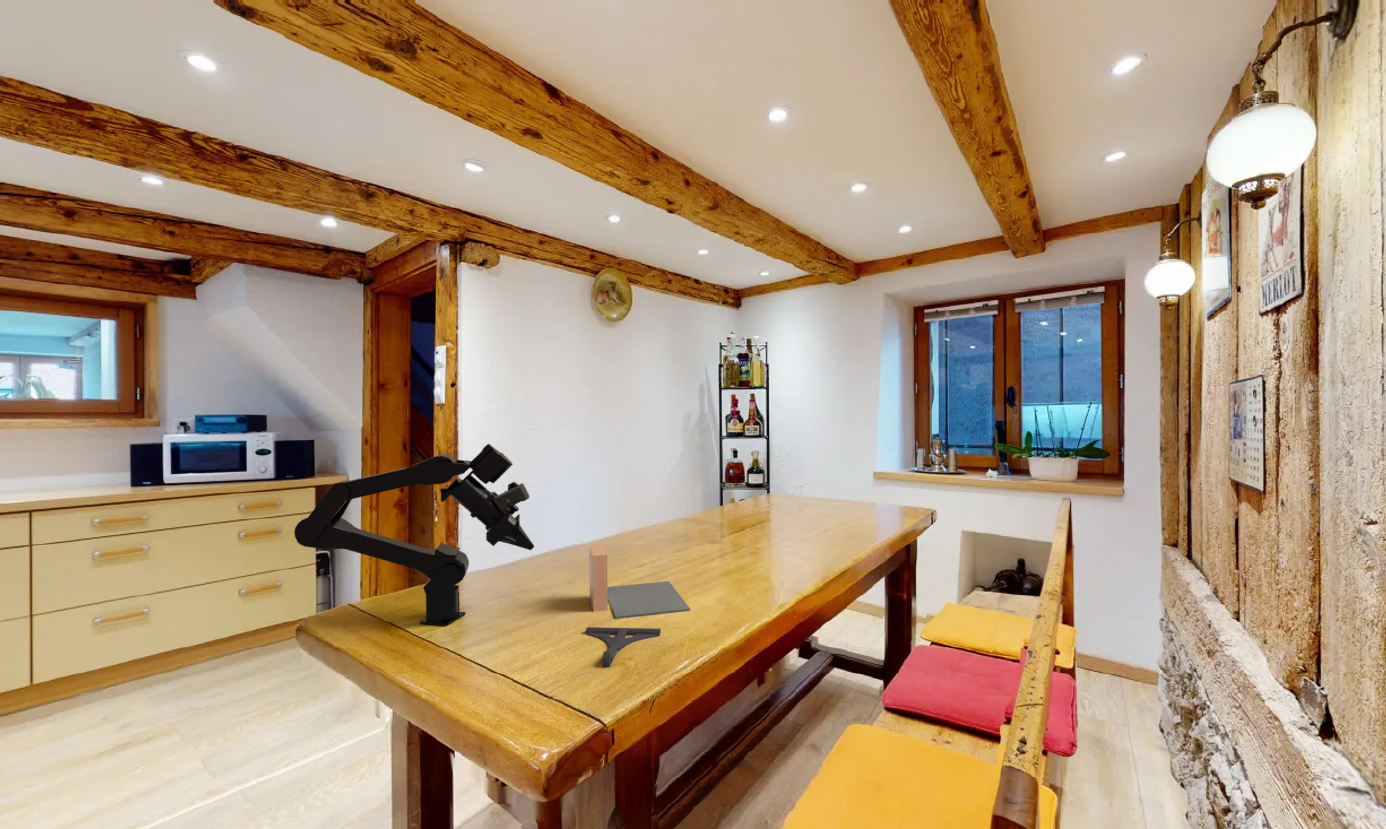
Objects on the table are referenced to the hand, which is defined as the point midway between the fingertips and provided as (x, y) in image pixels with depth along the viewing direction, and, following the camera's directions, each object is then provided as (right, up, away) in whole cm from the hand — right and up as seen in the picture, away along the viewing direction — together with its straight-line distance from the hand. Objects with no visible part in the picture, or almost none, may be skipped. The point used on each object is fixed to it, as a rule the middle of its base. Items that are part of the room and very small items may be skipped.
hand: (532, 548), depth 120 cm
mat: (+24, -13, +7) cm, 28 cm away
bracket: (+21, -14, -19) cm, 32 cm away
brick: (+14, -13, +4) cm, 19 cm away
